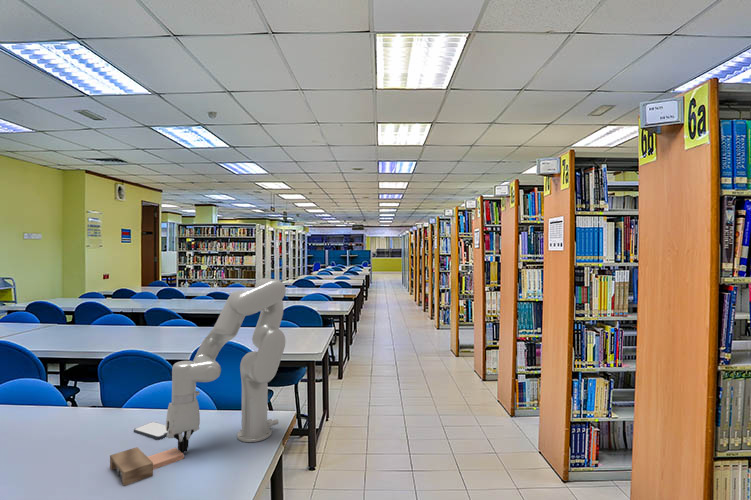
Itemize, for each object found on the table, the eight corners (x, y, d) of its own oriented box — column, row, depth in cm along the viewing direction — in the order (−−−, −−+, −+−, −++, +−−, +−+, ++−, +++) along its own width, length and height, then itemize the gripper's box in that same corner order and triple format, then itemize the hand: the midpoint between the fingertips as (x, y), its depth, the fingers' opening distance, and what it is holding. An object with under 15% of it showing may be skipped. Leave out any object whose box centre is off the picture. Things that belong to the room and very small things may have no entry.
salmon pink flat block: (175, 453, 146) (175, 447, 146) (183, 460, 141) (183, 453, 141) (141, 464, 138) (141, 458, 138) (148, 472, 133) (148, 466, 133)
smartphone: (131, 433, 162) (158, 441, 154) (131, 429, 162) (158, 437, 154) (153, 425, 169) (179, 432, 162) (153, 421, 169) (179, 428, 162)
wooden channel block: (137, 458, 141) (137, 447, 141) (152, 475, 130) (153, 462, 130) (109, 467, 135) (110, 455, 135) (124, 485, 124) (124, 472, 124)
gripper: (200, 390, 152) (199, 440, 152) (156, 400, 142) (156, 454, 141) (209, 395, 147) (209, 447, 147) (165, 406, 136) (164, 462, 136)
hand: (183, 450), depth 144 cm, fingers closed
